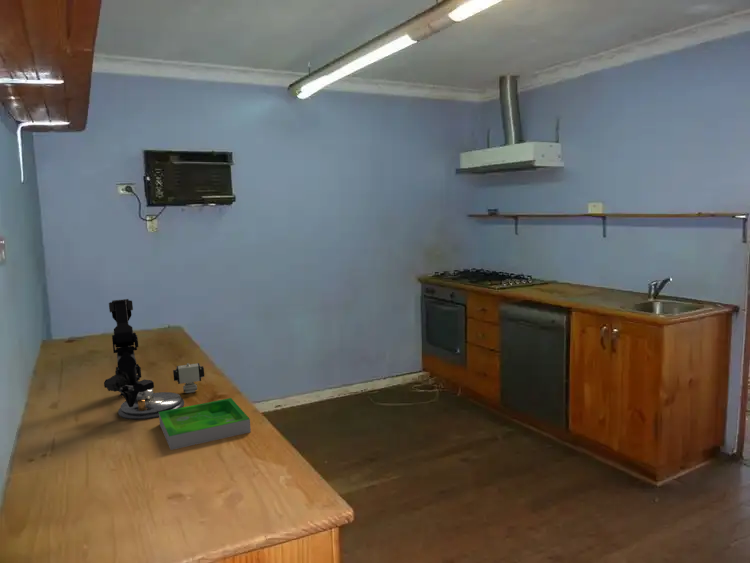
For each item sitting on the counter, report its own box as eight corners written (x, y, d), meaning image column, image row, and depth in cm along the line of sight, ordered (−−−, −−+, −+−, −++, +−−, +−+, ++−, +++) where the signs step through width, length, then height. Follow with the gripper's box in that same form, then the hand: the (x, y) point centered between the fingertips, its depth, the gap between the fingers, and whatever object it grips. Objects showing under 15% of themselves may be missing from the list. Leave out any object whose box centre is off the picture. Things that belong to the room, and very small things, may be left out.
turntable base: (106, 420, 202) (106, 417, 202) (135, 399, 225) (135, 396, 225) (170, 418, 202) (169, 415, 201) (192, 397, 224) (192, 394, 224)
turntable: (136, 419, 198) (135, 405, 198) (111, 407, 213) (110, 394, 212) (191, 402, 214) (190, 389, 213) (164, 392, 228) (163, 380, 227)
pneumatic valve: (205, 391, 231) (203, 362, 229) (175, 395, 227) (172, 366, 225) (204, 387, 236) (202, 359, 234) (175, 392, 232) (172, 363, 230)
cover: (141, 401, 213) (140, 392, 212) (134, 398, 217) (133, 389, 216) (156, 397, 217) (155, 387, 217) (149, 394, 221) (148, 385, 221)
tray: (170, 451, 174) (169, 436, 174) (159, 425, 196) (158, 412, 196) (250, 433, 186) (249, 418, 185) (232, 411, 208) (231, 397, 207)
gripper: (89, 369, 200) (93, 411, 202) (127, 373, 193) (132, 417, 195) (115, 360, 210) (119, 401, 212) (152, 364, 203) (157, 406, 205)
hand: (131, 406), depth 206 cm, fingers closed
